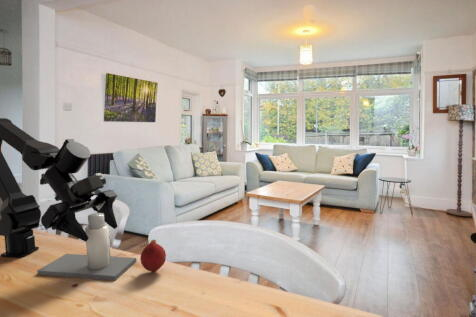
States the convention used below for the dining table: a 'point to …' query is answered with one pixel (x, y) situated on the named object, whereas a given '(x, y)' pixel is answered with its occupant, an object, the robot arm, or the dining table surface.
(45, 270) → the slate board
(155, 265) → the onion
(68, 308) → the dining table surface
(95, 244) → the white bottle
